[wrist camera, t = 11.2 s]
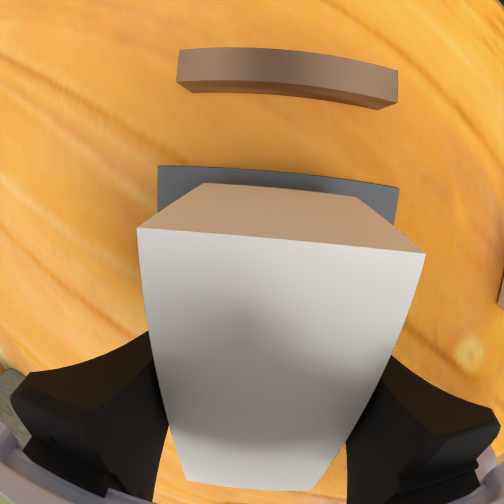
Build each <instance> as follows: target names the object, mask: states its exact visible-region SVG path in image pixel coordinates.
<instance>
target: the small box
mask: <svg viewBox="0 0 504 504" xmlns="http://www.w3.org/2000/svg"><path fill="white" fill-rule="evenodd" d="M498 306H499V307H500V308H501V309H502V310H503V311H504V278H503V282H502V287H501V291H500V295H499V299H498Z"/></svg>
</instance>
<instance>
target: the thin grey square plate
mask: <svg viewBox="0 0 504 504" xmlns="http://www.w3.org/2000/svg"><path fill="white" fill-rule="evenodd" d="M203 183H215V184H232V185H247V186H260V187H272V188H283V189H293V190H303V191H312V192H321V193H329V194H337V195H345V196H352V197H357V198H358V199H360V200H361V201H362V202H364V203H365V204H366V205H368V206H369V207H370V208H372V209H373V210H374V211H375V212H377V213H378V214H379V215H381V216H382V217H383V218H384V219H386V220H387V221H388V222H389V223H391V224H392V225H393V224H394V219H395V213H396V207H397V200H398V194H399V188H395V187H390V186H384V185H378V184H372V183H366V182H359V181H352V180H345V179H338V178H331V177H323V176H314V175H306V174H296V173H286V172H276V171H264V170H250V169H235V168H216V167H187V166H158V212H160V211H161V210H163V209H164V208H166V207H167V206H169V205H170V204H172V203H173V202H175V201H176V200H178V199H179V198H181V197H182V196H184V195H185V194H187V193H189V192H190V191H192V190H193V189H195V188H196V187H198V186H200V185H201V184H203Z"/></svg>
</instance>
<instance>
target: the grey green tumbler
mask: <svg viewBox="0 0 504 504" xmlns="http://www.w3.org/2000/svg"><path fill="white" fill-rule="evenodd" d="M25 378H26V377H25V376H24V375H23V374H21V373H20V372H18V371H16V370H14V369H8V370H6V371H5V372H4V373H3V374H2V375H1V376H0V421H1V422H2V423H4V424H5V425H6V426H7V427H8V428H9V429H10V430H11V431H12V432H13V433H14V434H15V436H16V437H17V438H18V441H20V442H21V443H23V444H24V445H26V444H27V443H28V441H29V440H30V438H31V437H32V436H31V434H30V433H29V432H28V430H27V429H26V427H25V426H24V425H23V423H22V422H21V420H20V419H19V417H18V416H17V414H16V413H15V411H14V409H13V408H12V405H11V402H10V395H11V394H12V393H13V392H14V391H15V389H16V388H17V387H18V386H19V385H20V384H21V382H22V381H23V380H24V379H25Z"/></svg>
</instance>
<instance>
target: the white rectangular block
mask: <svg viewBox="0 0 504 504" xmlns="http://www.w3.org/2000/svg"><path fill="white" fill-rule="evenodd" d="M137 240H138V252H139V263H140V272H141V281H142V290H143V297H144V305H145V312H146V318H147V325H148V331H149V337H150V342H151V348H152V353H153V358H154V363H155V368H156V373H157V378H158V382H159V387H160V391H161V395H162V399H163V403H164V407H165V411H166V415H167V419H168V423H169V426H170V430H171V433H172V437H173V440H174V443H175V447H176V450H177V453H178V456H179V460H180V463H181V466H182V469H183V472H184V474H185V477H186V480H189V481H194V482H199V483H205V484H211V485H218V486H225V487H234V488H243V489H255V490H273V491H311V490H312V489H313V488H314V486H315V485H316V484H317V482H318V481H319V480H320V478H321V477H322V476H323V474H324V473H325V471H326V470H327V469H328V467H329V466H330V464H331V463H332V461H333V460H334V458H335V457H336V455H337V454H338V452H339V451H340V449H341V448H342V446H343V444H344V443H345V441H346V440H347V438H348V436H349V435H350V433H351V431H352V430H353V428H354V426H355V425H356V423H357V421H358V419H359V418H360V416H361V414H362V412H363V411H364V409H365V407H366V405H367V403H368V401H369V399H370V398H371V396H372V394H373V392H374V390H375V388H376V386H377V384H378V382H379V380H380V378H381V375H382V373H383V371H384V369H385V367H386V365H387V363H388V360H389V358H390V356H391V354H392V351H393V349H394V347H395V344H396V342H397V339H398V337H399V334H400V332H401V329H402V327H403V324H404V322H405V319H406V316H407V314H408V311H409V308H410V305H411V302H412V299H413V297H414V294H415V291H416V287H417V284H418V281H419V278H420V275H421V271H422V268H423V264H424V261H425V257H426V253H425V252H424V251H422V250H421V249H420V248H419V247H418V246H417V245H416V244H414V243H413V242H412V241H411V240H410V239H409V238H407V237H406V236H405V235H404V234H403V233H401V232H400V231H399V230H398V229H397V228H395V227H394V226H393V225H392V224H391V223H389V222H388V221H387V220H386V219H384V218H383V217H382V216H381V215H379V214H378V213H377V212H375V211H374V210H373V209H372V208H370V207H369V206H368V205H366V204H365V203H364V202H362V201H361V200H360V199H358V198H357V197H352V196H345V195H337V194H329V193H321V192H312V191H303V190H293V189H283V188H272V187H260V186H247V185H232V184H215V183H203V184H201V185H200V186H198V187H196V188H195V189H193V190H192V191H190V192H189V193H187V194H185V195H184V196H182V197H181V198H179V199H178V200H176V201H175V202H173V203H172V204H170V205H169V206H167V207H166V208H164V209H163V210H161V211H160V212H158V213H157V214H155V215H154V216H152V217H151V218H150V219H148V220H147V221H145V222H144V223H142V224H141V225H140V226H138V227H137Z"/></svg>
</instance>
